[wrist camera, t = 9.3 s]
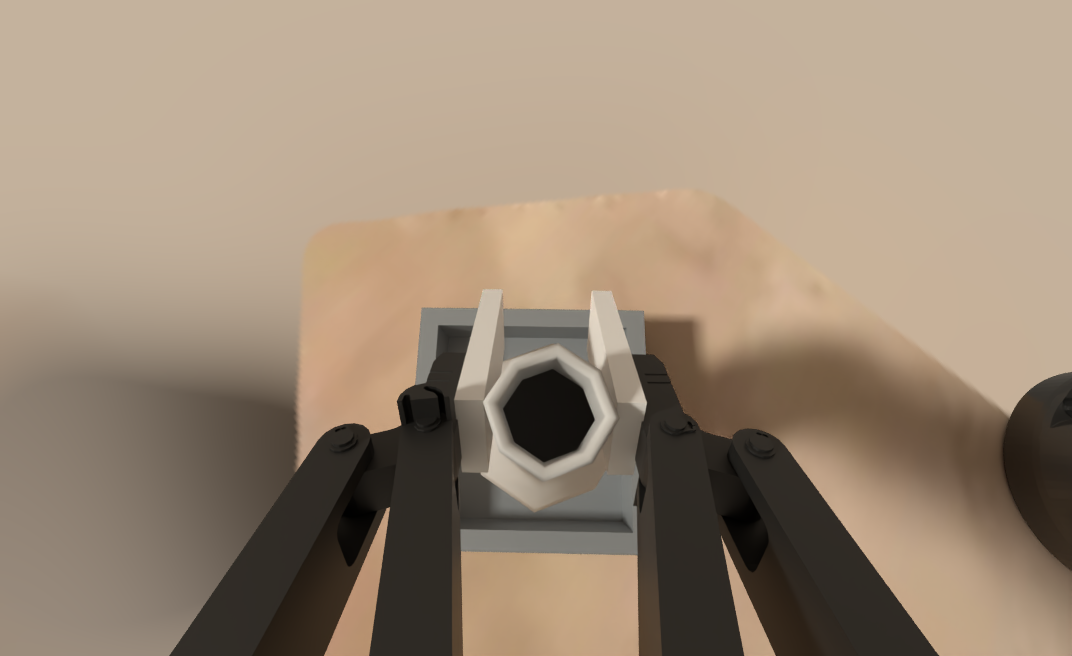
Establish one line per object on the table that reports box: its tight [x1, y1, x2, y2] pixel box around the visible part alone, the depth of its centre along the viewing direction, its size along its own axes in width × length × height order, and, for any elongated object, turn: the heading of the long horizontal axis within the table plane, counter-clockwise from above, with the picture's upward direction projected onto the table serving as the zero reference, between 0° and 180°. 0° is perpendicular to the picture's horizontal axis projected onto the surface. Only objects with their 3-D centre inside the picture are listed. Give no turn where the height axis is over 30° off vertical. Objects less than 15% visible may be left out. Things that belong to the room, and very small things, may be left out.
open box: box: [415, 308, 646, 555], centre depth 30 cm, size 15×15×4 cm
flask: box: [481, 343, 620, 512], centre depth 15 cm, size 7×7×10 cm
